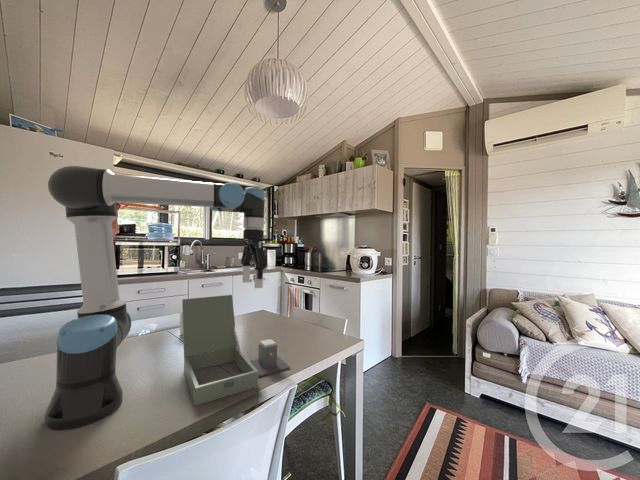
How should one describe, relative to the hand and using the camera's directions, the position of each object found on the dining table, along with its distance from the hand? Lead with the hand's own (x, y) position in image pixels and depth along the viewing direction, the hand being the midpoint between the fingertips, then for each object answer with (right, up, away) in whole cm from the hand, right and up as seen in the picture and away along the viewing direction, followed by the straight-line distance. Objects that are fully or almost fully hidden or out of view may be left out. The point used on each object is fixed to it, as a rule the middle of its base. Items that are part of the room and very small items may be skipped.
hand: (251, 285), depth 100 cm
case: (-10, -28, -11) cm, 32 cm away
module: (+7, -28, -4) cm, 29 cm away
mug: (-35, -28, +27) cm, 52 cm away
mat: (+7, -29, -4) cm, 30 cm away
